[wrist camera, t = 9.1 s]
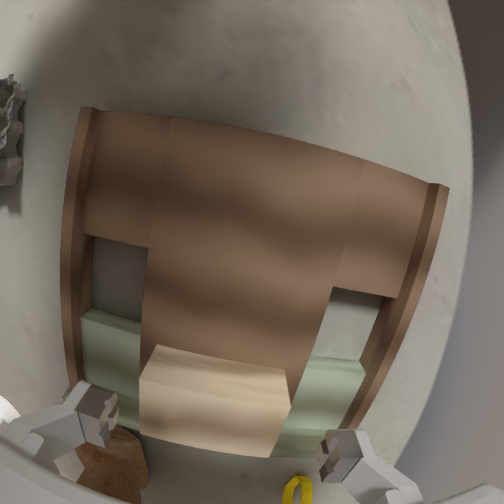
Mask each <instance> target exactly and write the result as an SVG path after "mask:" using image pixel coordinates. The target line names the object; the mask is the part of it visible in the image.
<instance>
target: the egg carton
mask: <svg viewBox="0 0 504 504" xmlns="http://www.w3.org/2000/svg"><path fill="white" fill-rule="evenodd" d="M13 76H14V74H10V75H9V77H8V78H6V79H2V80H0V101H6V100H8V99H9V100H8V101H7V102H6V104H5V108H4V109H2V108H0V132H1V133H0V140H1V141H0V186H5V185H12V184H16V181H17V176H18V174H19V172H20V171H21V170H22V169H23V158H21V157H19V156H18V154H17V151H16V144H17V141H18V139H19V137H20V136H21V135H22V134H23V133H24V130H23V123H21V122H19V120H18V110H19V108H20V106H21V104H22V103H23V102H24V101H25V100H26V96H27V91H25V90H22V89H21V84H19V83H17V82H16V81H14V80H13ZM13 91H14V92H13ZM12 92H13V95H11V94H12ZM9 97H10V98H9Z"/></svg>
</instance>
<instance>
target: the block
mask: <svg viewBox="0 0 504 504" xmlns="http://www.w3.org/2000/svg"><path fill="white" fill-rule="evenodd" d="M290 409H291V404H290V398H289V392H288V387H287V381H286V375H285V369H279V368H272V367H265V366H259V365H253V364H247V363H241V362H235V361H230V360H225V359H220V358H215V357H210V356H205V355H200V354H196V353H191V352H187V351H183V350H178V349H174V348H170V347H166V346H162V345H158V344H157V345H156V347H155V349H154V351H153V353H152V355H151V357H150V359H149V361H148V362H147V364H146V366H145V368H144V370H143V372H142V374H141V376H140V378H139V415H140V434H143V435H146V436H150V437H153V438H157V439H161V440H165V441H169V442H173V443H177V444H181V445H186V446H191V447H195V448H200V449H206V450H211V451H217V452H223V453H230V454H237V455H245V456H254V457H264V458H269V456H270V454H271V452H272V450H273V448H274V445H275V443H276V441H277V439H278V436H279V434H280V432H281V430H282V427H283V425H284V423H285V420H286V418H287V416H288V413H289V411H290Z"/></svg>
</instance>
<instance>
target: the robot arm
mask: <svg viewBox="0 0 504 504" xmlns="http://www.w3.org/2000/svg"><path fill="white" fill-rule="evenodd" d="M117 400H118V399H117V394H116V393H114V392H112V391H109V390H106V389H103V388H101V387H98V386H96V385H93V384H90V383H88V382H85V381H83V380H81V381H79V382H78V383H77V385H76V386H75V387H74V389H73V390H72V392H71V393H70V394H69V396H68V397H67V398H66V400H65V401H64V403H63V404H62V405H61V404H56V405H54V406H51V407H48V408H45V409H42V410H39V411H37V412H34V413H31V414H28V415H25V416H22V417H19V418H15V419H13V420H12V421H11V423H10V424H9V425H8V426H7V428H6V429H5V430H4V432H3V433H2V434H1V436H0V504H131V503H128V502H125V501H122V500H119V499H116V498H113V497H110V496H108V495H105V494H102V493H100V492H97V491H95V490H92V489H90V488H87V487H85V486H82V485H80V484H78V483H76V482H73V481H71V480H69V479H67V478H65V477H63V476H61V475H60V472H59V470H58V468H57V466H56V464H55V462H54V460H55V459H57V458H59V457H60V456H62V455H64V454H66V453H68V452H69V451H71V450H73V449H74V448H76V447H78V446H80V445H81V444H83V443H85V441H87V442H89V443H92V444H95V445H98V446H100V447H103V448H105V447H106V445H107V443H108V441H109V439H110V437H111V436H110V430H112V429H114V428H115V426H116V424H117V420H118V415H119V409H118V406H117V405H116V402H117ZM317 462H318V463H319V464H320V465H321V466H322V467H321V469H320V470H319V472H320V477H321V481H322V483H339V482H342V483H341V484H342V485H343V486H344V487H345V488H346V489H347V490H348V492H349V493H350V494H351V495H352V496H353V497H354V498H355V499H356V500H357V501H358V502H359V503H360V504H425V503H424V501H423V498H422V496H421V494H420V491H419V489H418V487H417V484H416V483H414V482H413V481H411V480H409V479H408V478H407V477H405V476H404V475H403V474H401V473H400V472H399V471H397V470H396V469H395V468H393V467H392V466H391V465H389V464H388V463H387V462H385V461H384V460H383V459H381V458H380V457H376V456H375V453H374V451H373V448H372V446H371V443H370V441H369V438H368V436H367V433H366V431H365V430H364V429H329V430H328V431H327V432H326V434H325V439H324V440H323V441H321V442H320V444H319V446H318V449H317ZM431 504H504V491H502V490H500V489H499V488H497V487H495V486H493V485H491V484H488V483H483V484H480V485H478V486H475V487H473V488H471V489H468V490H466V491H464V492H461V493H459V494H456V495H453V496H451V497H448V498H446V499H442V500H439V501H437V502H434V503H431Z"/></svg>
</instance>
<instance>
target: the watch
mask: <svg viewBox="0 0 504 504" xmlns="http://www.w3.org/2000/svg"><path fill="white" fill-rule="evenodd" d="M299 483H300V485H301V497H300V503H299V504H311V502H312V496H313V488H312V483H311V481H310V479H309V478H308V477H306V476H299V475H294V476H293V478H292V479H291V480H290V481H289V482H288V483H287V485H285V488H284V491H283V495H282V504H292V500H293V493H294V490H295V487H296V486H297V485H298V484H299Z"/></svg>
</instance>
